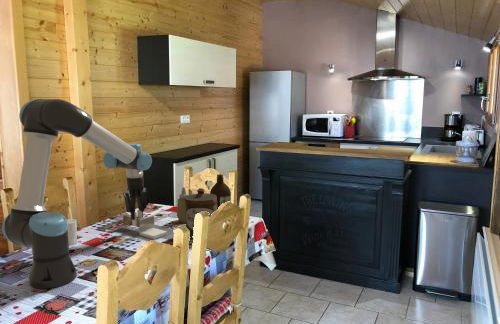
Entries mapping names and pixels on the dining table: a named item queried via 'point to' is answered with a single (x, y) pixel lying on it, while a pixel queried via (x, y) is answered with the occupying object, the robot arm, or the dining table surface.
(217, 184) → the olive oil
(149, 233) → the tile
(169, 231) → the slate mat
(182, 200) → the squeeze bottle
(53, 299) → the dining table surface
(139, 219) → the brown rectangular box
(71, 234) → the white cup
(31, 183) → the robot arm
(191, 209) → the wooden container
